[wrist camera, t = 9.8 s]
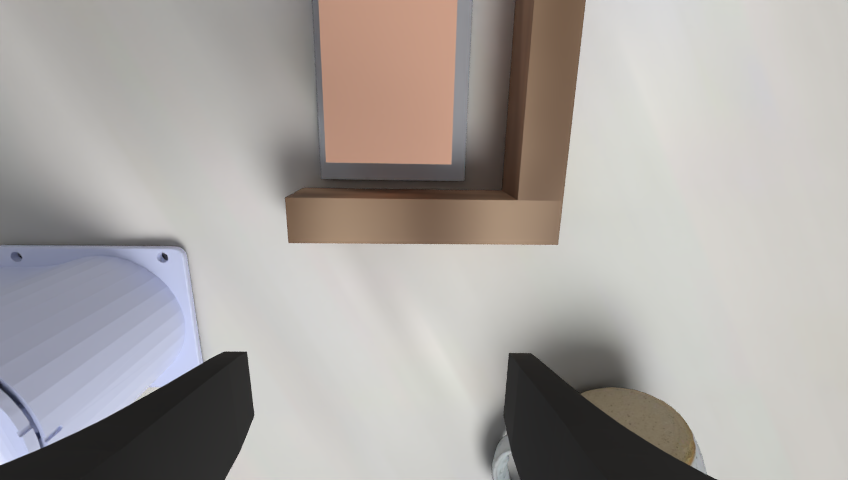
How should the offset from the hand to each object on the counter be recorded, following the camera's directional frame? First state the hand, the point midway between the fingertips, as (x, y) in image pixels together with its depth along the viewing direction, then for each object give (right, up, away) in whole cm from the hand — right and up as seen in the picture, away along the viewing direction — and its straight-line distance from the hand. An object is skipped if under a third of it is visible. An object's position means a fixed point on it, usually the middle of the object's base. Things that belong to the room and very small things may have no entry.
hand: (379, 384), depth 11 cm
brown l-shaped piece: (+1, +12, +7) cm, 14 cm away
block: (0, +12, +7) cm, 14 cm away
